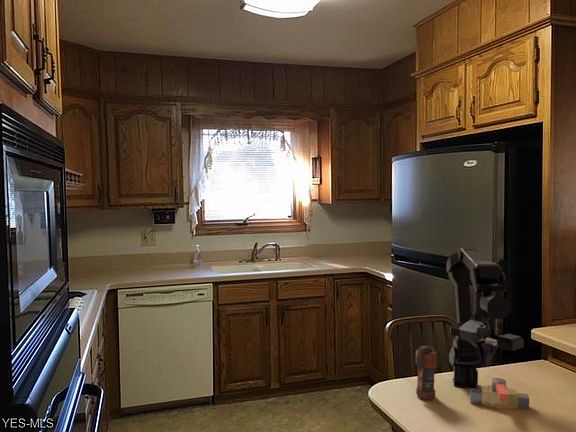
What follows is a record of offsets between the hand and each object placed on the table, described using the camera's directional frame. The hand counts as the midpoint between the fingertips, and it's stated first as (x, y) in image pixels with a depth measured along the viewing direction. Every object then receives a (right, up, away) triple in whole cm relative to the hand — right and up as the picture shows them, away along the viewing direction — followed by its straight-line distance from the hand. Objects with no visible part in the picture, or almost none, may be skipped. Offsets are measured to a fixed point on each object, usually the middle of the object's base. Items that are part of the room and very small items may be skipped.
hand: (484, 366), depth 131 cm
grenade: (-14, -12, +9) cm, 20 cm away
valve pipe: (+6, -12, +4) cm, 14 cm away
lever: (+5, -7, +1) cm, 9 cm away
